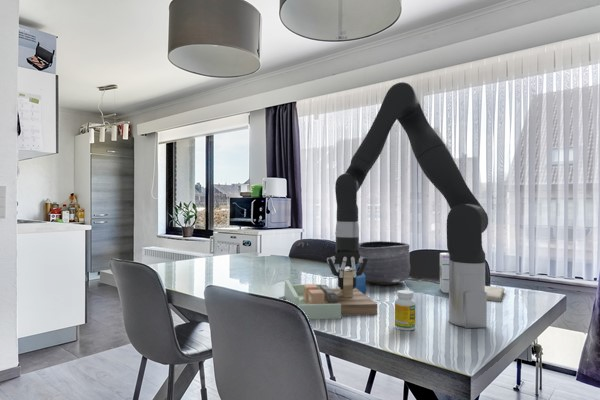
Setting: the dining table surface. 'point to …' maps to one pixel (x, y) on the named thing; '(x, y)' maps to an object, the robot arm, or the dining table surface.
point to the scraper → (345, 292)
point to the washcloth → (494, 293)
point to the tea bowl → (385, 261)
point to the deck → (355, 304)
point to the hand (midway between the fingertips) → (346, 288)
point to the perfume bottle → (360, 281)
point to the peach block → (316, 297)
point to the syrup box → (444, 272)
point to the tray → (311, 310)
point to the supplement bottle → (405, 310)
